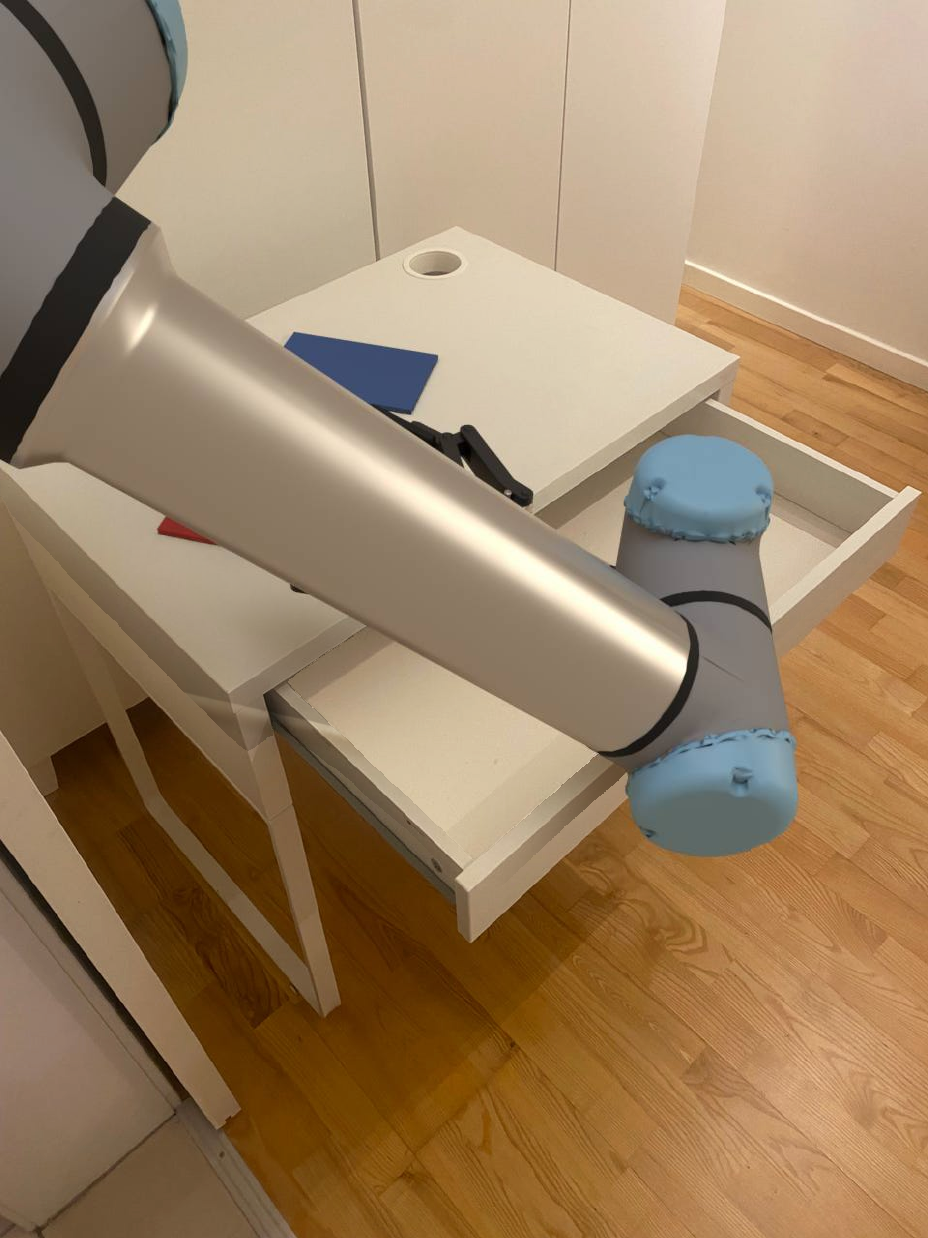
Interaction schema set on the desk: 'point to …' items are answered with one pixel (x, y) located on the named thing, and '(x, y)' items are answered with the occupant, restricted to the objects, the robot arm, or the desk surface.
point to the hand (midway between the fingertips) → (311, 460)
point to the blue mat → (368, 369)
